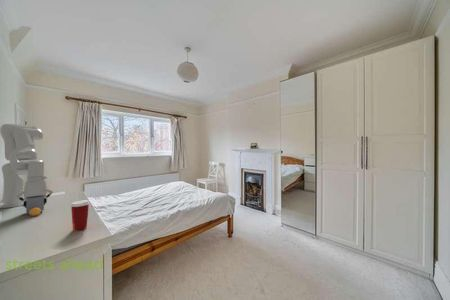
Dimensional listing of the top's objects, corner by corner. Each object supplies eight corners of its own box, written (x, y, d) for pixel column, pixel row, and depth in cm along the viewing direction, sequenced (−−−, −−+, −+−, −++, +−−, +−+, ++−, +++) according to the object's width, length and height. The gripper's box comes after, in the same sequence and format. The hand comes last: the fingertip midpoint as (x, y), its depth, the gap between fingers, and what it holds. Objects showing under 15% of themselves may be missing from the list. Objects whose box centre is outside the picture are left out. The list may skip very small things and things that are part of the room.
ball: (29, 207, 108) (28, 216, 107) (41, 206, 112) (40, 214, 110) (29, 209, 111) (29, 217, 110) (40, 207, 115) (40, 215, 114)
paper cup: (92, 226, 96) (93, 200, 96) (79, 232, 88) (80, 204, 89) (79, 225, 97) (80, 199, 97) (65, 231, 89) (66, 203, 89)
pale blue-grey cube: (26, 210, 116) (26, 196, 116) (43, 207, 122) (43, 194, 122) (26, 213, 111) (26, 198, 111) (43, 210, 117) (44, 196, 117)
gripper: (53, 177, 126) (53, 202, 125) (15, 180, 113) (15, 207, 113) (54, 178, 120) (54, 204, 120) (14, 181, 108) (14, 210, 108)
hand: (35, 205), depth 116 cm, fingers closed on pale blue-grey cube, 7 cm apart
